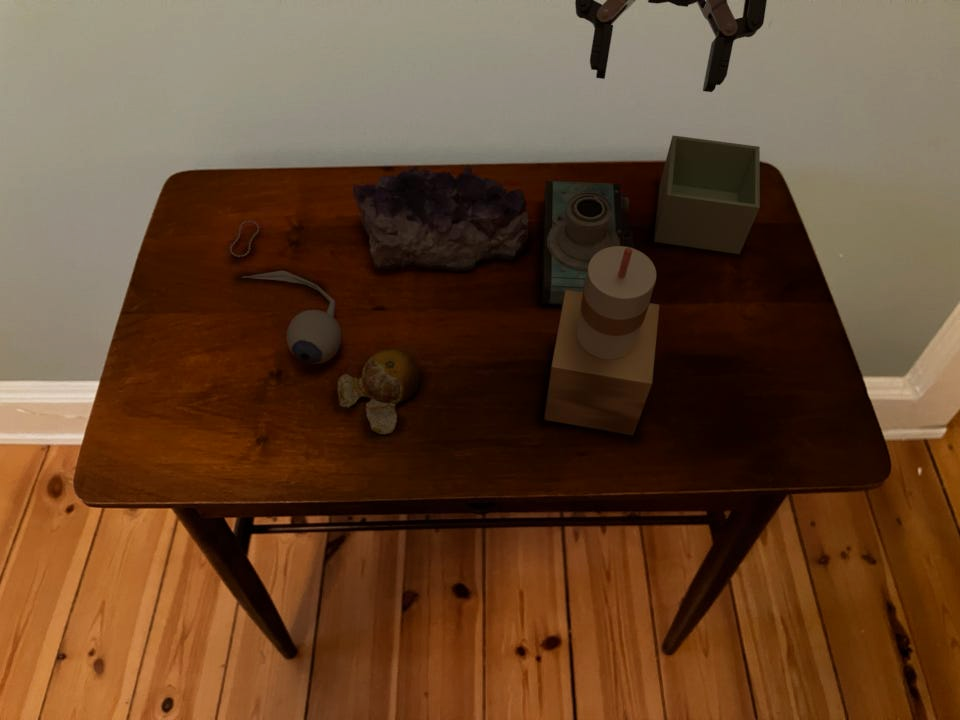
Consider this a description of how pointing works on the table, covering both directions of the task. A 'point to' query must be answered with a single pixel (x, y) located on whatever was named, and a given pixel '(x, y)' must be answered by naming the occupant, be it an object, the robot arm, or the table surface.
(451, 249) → the geode
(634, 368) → the stand
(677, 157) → the bin
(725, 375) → the table surface
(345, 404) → the fruit
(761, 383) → the table surface
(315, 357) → the novelty item
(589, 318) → the paper cup
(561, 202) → the camera
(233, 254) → the necklace
